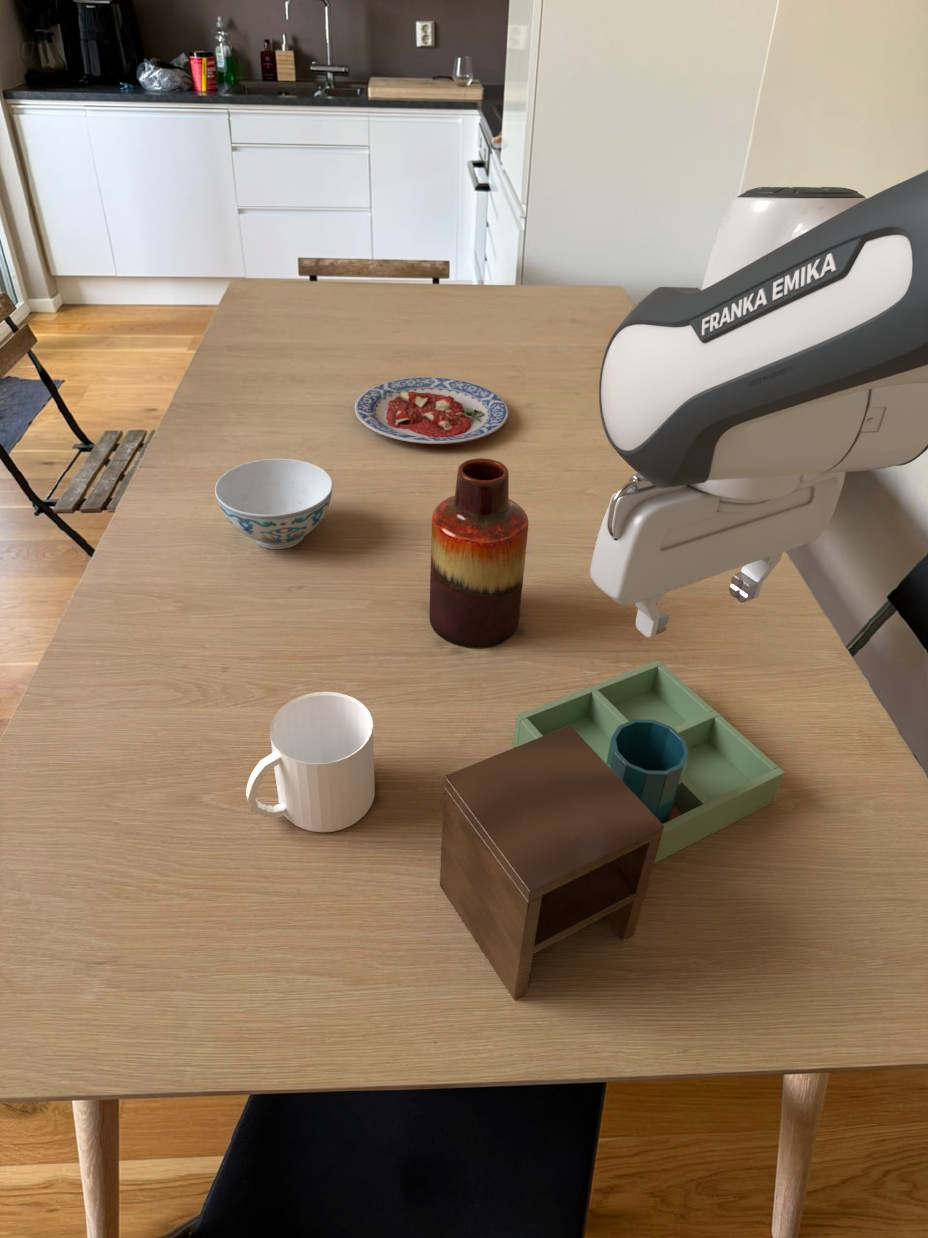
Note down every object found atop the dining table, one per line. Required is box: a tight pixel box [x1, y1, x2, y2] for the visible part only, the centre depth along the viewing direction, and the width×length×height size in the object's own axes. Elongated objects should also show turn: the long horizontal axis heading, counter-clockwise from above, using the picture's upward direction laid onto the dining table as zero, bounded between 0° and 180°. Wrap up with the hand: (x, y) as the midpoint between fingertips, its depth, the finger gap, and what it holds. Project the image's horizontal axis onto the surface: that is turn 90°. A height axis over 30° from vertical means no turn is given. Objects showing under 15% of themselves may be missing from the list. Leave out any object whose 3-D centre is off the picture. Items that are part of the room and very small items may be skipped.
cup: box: [606, 719, 689, 824], centre depth 81 cm, size 7×7×9 cm
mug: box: [245, 691, 376, 834], centre depth 81 cm, size 12×9×9 cm
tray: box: [512, 660, 786, 864], centre depth 87 cm, size 18×18×4 cm
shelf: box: [439, 725, 664, 1000], centre depth 71 cm, size 12×12×14 cm
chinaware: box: [214, 458, 334, 550], centre depth 118 cm, size 15×15×8 cm
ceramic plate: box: [354, 376, 509, 445], centre depth 150 cm, size 26×26×3 cm
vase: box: [429, 457, 529, 649], centre depth 101 cm, size 11×11×20 cm
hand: (697, 613), depth 68 cm, fingers open, 8 cm apart
